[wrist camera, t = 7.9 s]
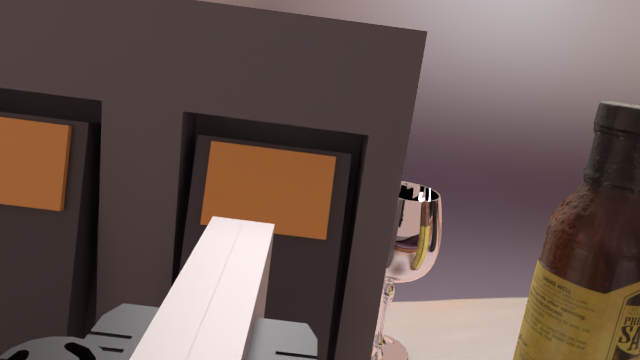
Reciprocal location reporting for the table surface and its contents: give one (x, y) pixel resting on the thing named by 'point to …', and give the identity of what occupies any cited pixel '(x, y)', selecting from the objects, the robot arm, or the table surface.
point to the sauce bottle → (592, 256)
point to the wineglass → (408, 255)
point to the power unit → (217, 124)
